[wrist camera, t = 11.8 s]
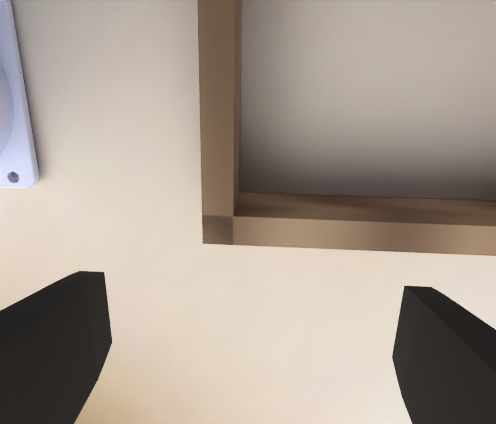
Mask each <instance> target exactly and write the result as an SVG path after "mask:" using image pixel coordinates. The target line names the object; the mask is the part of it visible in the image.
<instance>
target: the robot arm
mask: <svg viewBox="0 0 496 424" xmlns="http://www.w3.org/2000/svg"><path fill="white" fill-rule="evenodd" d="M13 172H15V173H16V174H18V176H19V180H16V179H15V178H14V177H13V175H12V173H13ZM38 181H39V171H38V165H37V159H36V153H35V147H34V141H33V135H32V128H31V122H30V116H29V110H28V104H27V98H26V92H25V85H24V79H23V73H22V67H21V61H20V55H19V49H18V42H17V36H16V30H15V24H14V18H13V12H12V6H11V1H10V0H0V187H7V188H31V187H33V186H34V185H36V184H37V183H38ZM111 344H112V337H111V328H110V319H109V311H108V302H107V294H106V285H105V276H104V272H88V271H79V272H76V273H74V274H71V275H69V276H67V277H65V278H63V279H61V280H59V281H57V282H55V283H53V284H51V285H49V286H47V287H45V288H43V289H41V290H39V291H37V292H36V293H34V294H32V295H30V296H28V297H26V298H24V299H22V300H20V301H18V302H16V303H14V304H13V305H11V306H9V307H7V308H5V309H3V310H1V311H0V424H74V423H75V421H76V419H77V417H78V415H79V413H80V412H81V410H82V408H83V406H84V404H85V402H86V401H87V399H88V397H89V395H90V393H91V391H92V389H93V388H94V386H95V384H96V382H97V380H98V378H99V375H100V373H101V370H102V368H103V365H104V363H105V360H106V357H107V355H108V352H109V349H110V346H111ZM392 358H393V362H394V366H395V371H396V375H397V379H398V383H399V387H400V390H401V394H402V398H403V400H404V403H405V406H406V408H407V411H408V413H409V416H410V418H411V421H412V424H496V330H495V329H494V328H492V327H491V326H489V325H488V324H486V323H485V322H483V321H482V320H481V319H479V318H478V317H476V316H475V315H473V314H472V313H470V312H469V311H467V310H466V309H465V308H463V307H462V306H460V305H459V304H457V303H456V302H454V301H453V300H451V299H450V298H448V297H447V296H445V295H444V294H442V293H440V292H439V291H437V290H435V289H434V288H432V287H418V286H404V292H403V298H402V303H401V309H400V315H399V321H398V327H397V332H396V338H395V344H394V350H393V356H392Z"/></svg>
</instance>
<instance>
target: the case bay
mask: <svg viewBox="0 0 496 424" xmlns="http://www.w3.org/2000/svg"><path fill="white" fill-rule="evenodd" d="M241 14H242V0H198V38H199V85H200V132H201V179H202V226H203V244H226V245H250V246H274V247H298V248H322V249H346V250H370V251H394V252H418V253H442V254H466V255H490V256H496V201H478V200H450V199H422V198H394V197H366V196H338V195H310V194H282V193H254V192H239V182H240V98H241Z"/></svg>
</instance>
